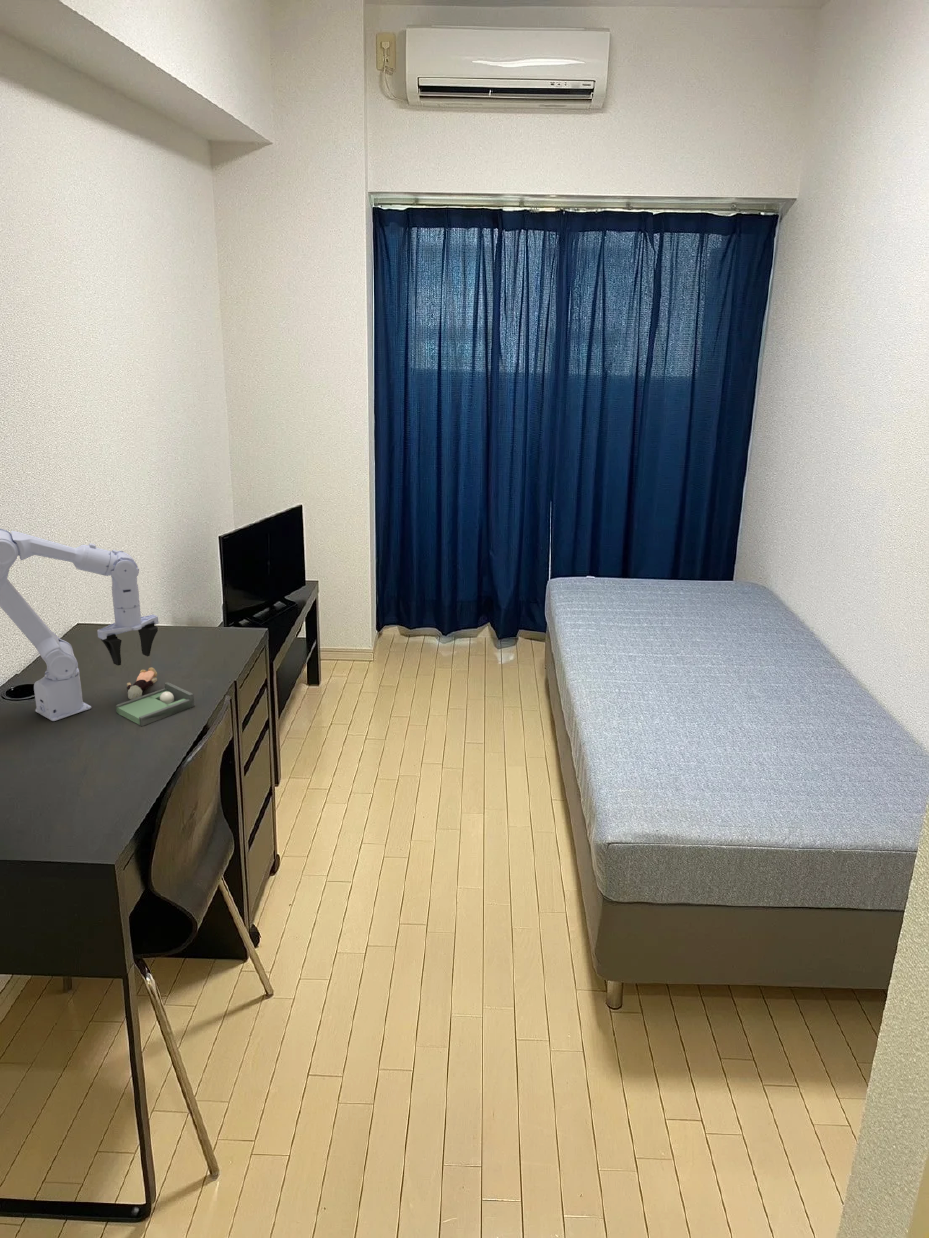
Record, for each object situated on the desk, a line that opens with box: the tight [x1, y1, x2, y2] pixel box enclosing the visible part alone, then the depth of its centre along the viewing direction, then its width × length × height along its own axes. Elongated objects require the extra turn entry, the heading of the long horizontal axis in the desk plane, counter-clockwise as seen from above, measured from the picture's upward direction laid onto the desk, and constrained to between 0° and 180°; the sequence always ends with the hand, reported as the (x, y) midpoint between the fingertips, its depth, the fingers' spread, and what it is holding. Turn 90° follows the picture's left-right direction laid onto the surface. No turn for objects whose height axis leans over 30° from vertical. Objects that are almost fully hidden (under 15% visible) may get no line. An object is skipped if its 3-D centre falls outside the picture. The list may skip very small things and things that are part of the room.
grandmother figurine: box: [126, 667, 158, 700], centre depth 220 cm, size 8×4×13 cm
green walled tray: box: [115, 681, 195, 727], centre depth 210 cm, size 14×10×3 cm
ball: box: [160, 692, 175, 704], centre depth 213 cm, size 3×3×3 cm
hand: (131, 659), depth 213 cm, fingers open, 7 cm apart
